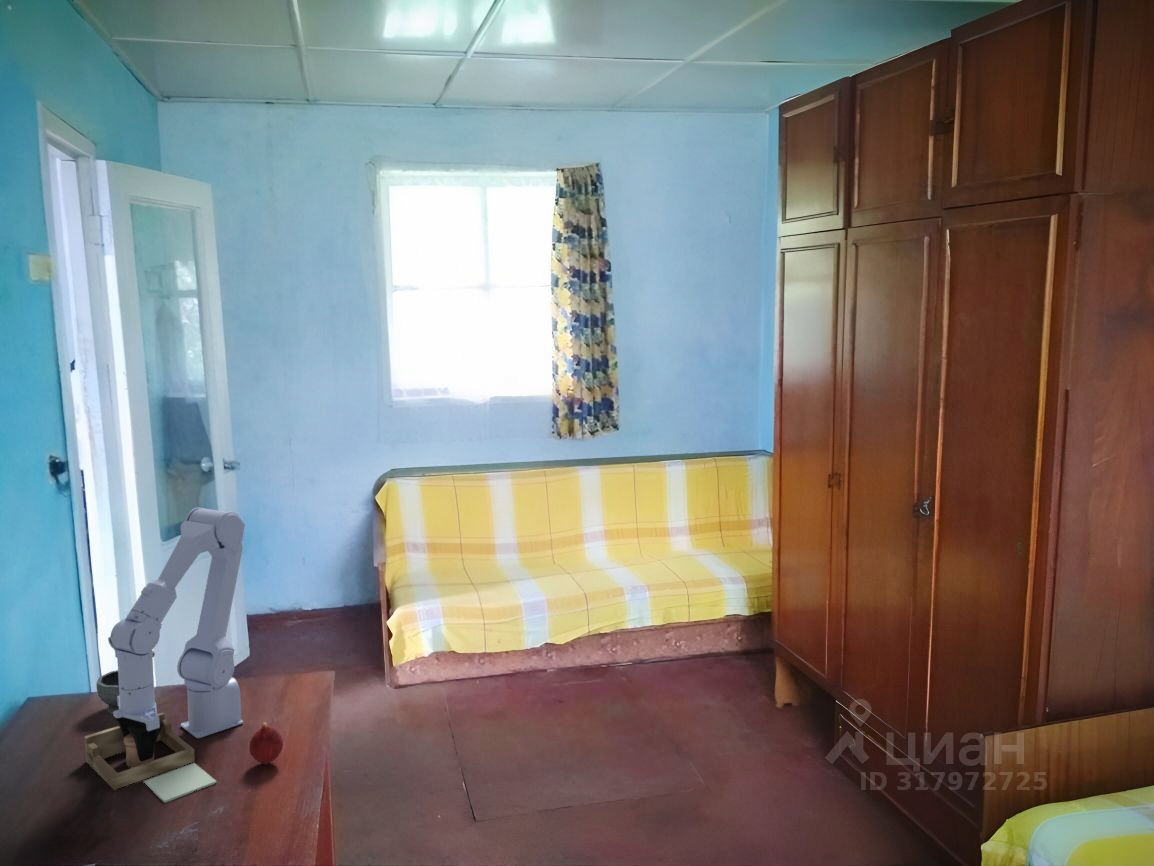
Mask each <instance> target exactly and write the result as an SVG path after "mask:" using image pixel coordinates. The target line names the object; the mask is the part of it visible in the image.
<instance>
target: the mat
mask: <svg viewBox="0 0 1154 866" xmlns="http://www.w3.org/2000/svg"><path fill="white" fill-rule="evenodd" d="M144 783H145V784H146V785H147V786H148V787H149V788H150V789H151V790H152V791H153V792H152V793H153V794H155V795H156V796H157V797H158V798H159V800H161V801H162V802H163V803H164V804H167V803H168V802H171V801H174V800H176V799H178V798H181V797H184V796H187V795H189V794H192V793H195V792H197V791H199V790H202V788H203V789H206V788H207V787H210V786H212V785H215V783H216V784H217V780H216V779H214V778H213V777H212V776H211V775H210V774H209V773H207V772H206V771H205V770H204V769H202V767H201V766H199V765H198V764H197V763H195V762H193V763H191V764H188V765H185V766H182V767H179V768H177V769H174V770H171V771H168V772H165V773H163V774H160V775H157V776H154V777H151V778H149V779H146V780H143V784H144ZM145 784H144V785H145ZM146 785H145V786H146ZM147 786H146V787H147ZM148 787H147V788H148ZM149 788H148V789H149ZM150 789H149V790H150ZM151 790H150V791H151ZM196 790H197V791H196ZM194 791H195V792H194Z"/></svg>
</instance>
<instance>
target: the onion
mask: <svg viewBox="0 0 1154 866" xmlns="http://www.w3.org/2000/svg"><path fill="white" fill-rule="evenodd" d="M283 746H284V741H283V738H282V735H281V733H280V732H279V731H278V730H277V729H276V728H274V727H271V726H270V725H269V724H268V723H267V722H266V721H265V722H263V723H262V725H261V728H259V729H258V730H256V732H255V733H254V734H253V735H252V737H251V739H250V741H249V753H250V755H251V756H252V757H253V759H254V760H255V761H256V762H259V763H260V764H263V765H266V764H267V765H269V764H270V763H272V762H274V761H275V760H276V759H277V758H279V755H280V754H281V753H282V750H283Z"/></svg>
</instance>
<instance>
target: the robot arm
mask: <svg viewBox="0 0 1154 866" xmlns="http://www.w3.org/2000/svg"><path fill="white" fill-rule="evenodd" d="M245 527H246V524H245V522H244V521H243V519H242V518H241V517H240V515H239V514H238V513H236V512H235V511H223V510H217V509H211V508H205V507H202V506H201V507H200V506H199V507H194V508H193V509H191V510H190V511H189V512H188V513H187V514H186V517H185V519H184V521H183V522H182V523H181V524H180V537H179V539H178V541H177V543H176V545H175V547H174V549H173V550H172V552H171V555H170V556H169V558H168V560H167V562H166V564H165V566H164V568H163V569H162V571H161V573H160V575H159V577H158V579H156V580H153V581H150V582H148V583H147V584H146V585H145V586H144V587H143V588H142V590H141V591H140V593H141V594H140V595H139V597H138V598H137V600H136V601H135V603H134V604H133V606H132V608H131V609H130V611H129V613H128V614H127V616H126V617H125V618H123V619H121V621H118V622H117V623H116V624H115V625H114V626H113V628H112V629H111V631H110V632H111V633H110V636H109V637H108V638H107V640H108V644H109V646H110V647H111V648H112V649H113V650H114V656H115V658H116V659H117V660H116V661H117V670H118V678H119V696H117V702H118V706H119V710H117V711H114V712H113V715H112V717H113V719H114V720H115V722H116V723H117V724H118V725H117V726H119V727H120V729H121V731H122V734H123V737H125V736H127V735H128V734H130V733H131V734H132V736H133V738H134V741H135V744H136V749H137V754H138V758H139V760H140V761H141V762H142V761H145V760H148V759H151V758H152V757H153V754H154V755H155V750H156V748H155V747H156V744H157V742H158V741H157V737H158V735H159V733H160V731H161V729H162V727H163V725H164V722H163V721H162V720H161V719H159V717H158V716H157V714H158V713H157V712H158V710H157V703H156V701H155V699H156V698H155V684H154V683H155V681H154V679H155V678H154V662H153V661H154V659H153V658H154V657H153V656H152V651H153V649H154V648H155V647H156V646H157V645H158V643H159V641H160V634H161V629H162V625H163V624H162V622H163V621H164V619H165V617H166V616H167V614H168V612H169V611H170V609H171V608H172V606H173V604H174V603H175V601H176V600H177V597H178V596H177V592H176V591H177V590H176V588H177V586H178V585H179V583H180V582H181V580H182V579H183V577H184V576H185V574H187V572H188V570H189V569H190V568H191V566H192V565H193V564H194V562H196V561H195V560H197V558H198V557H199V555H200V554H202V553H207V552H208V553H209V555H210V556H211V559H210V566H209V570H208V575H207V579H206V586H205V589H204V594H203V601H202V605H201V611H200V616H199V620H198V626H197V629H196V634H195V635H194V636H193V637H191V638H190V639H189V640H188V641H186V642H185V645H184V649H183V652H182V654H181V655H180V657H179V659H178V661H177V667H176V668H177V669H176V670H177V674H178V675H179V677H181V679H183V680H184V685H185V686H186V691H187V692H186V694H187V715H188V716H187V717H188V720H187V721H184V722H181V724H180V727H182V728H183V729H184V730H185V731H187V732H188V733H189V734H191V736H193V737H195V738H196V739H201V738H204V737H206V736H210V735H213V734H216V733H218V732H219V733H220V732H222V731H225V730H228V729H230V728H233V727H236V726H240V725H242V724H243V723H244V720H243V719H242V704H241V703H242V701H241V700H242V699H241V690H240V685H239V683H238V680H237V679H236V678H235V677H233V675H234V672H235V661H234V654H235V648H234V646H233V645H232V643H230V641H229V640H228V639H227V633H228V632H227V631H228V628H229V627H228V626H229V621H230V616H231V611H232V607H233V601H234V595H235V591H236V585H237V579H238V575H239V569H240V565H241V564H240V563H241V559H242V554H243V542H242V541H243V537H244V533H245V532H244V531H245Z"/></svg>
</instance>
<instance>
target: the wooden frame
mask: <svg viewBox="0 0 1154 866" xmlns="http://www.w3.org/2000/svg"><path fill="white" fill-rule="evenodd" d="M157 716H158V717H159V719H161V720H162V721H163V722H164V725H163V727H162V729H161V731H160V733H159V735H158V737H157V741H156V742H159V741H161V742H162V743H164V745H166V746H167V747H168V748H170V750H172V751H173V752H174V751H175V752H174V753H171V754H169V755H166V756H163V757H160V758H157V759H154V761H151V762H148V763H145V764H142V765H140V766H137V767H134V768H128V769H125V770H122V771H120V772H118V771H116V769H114V768H113V767H112V766H111V764H109V763H108V762H107V761H106V760H105V759H107V758H110V756H111V757H113V755H114V756H116V755H115V754H117V755H119V754H118V753H120V752H123V753H125V752H124V751H126V746H125V745H124V737H123V734H122V731H121V729H120V727H119V725H117V726H114V727H111V728H106V729H104V730H101V731H98V732H95V733H91V734H88V735H84V749H85V750H84V751H85V763H88V764H89V765H88V766H89V767H90V768H91V769H92V770H93V769H94V770H95V771H96V772H97V773H98V774H97V773H96V772H95V771H94V770H93V771H94V772H95V773H96V774H97V775H98V776H99V775H100V776H101V777H102V778H103V779H104V780H105V781H106V782H107V783H108V784H109V785H110V786H111V787H112V788H113V789H114V790H115V791H117V790H116V789H118V788H121V787H123V786H126V785H128V784H132V783H134V782H137V781H140V780H143V779H146V780H148V779H147V778H149V779H151V778H153V777H152V776H154V777H156V776H159V774H160V775H162V774H165V773H167V772H170V771H173V770H176V768H177V769H179V768H181V767H184V765H185V766H187V764H188V765H190V764H189V763H191V764H193V763H195V762H196V761H195V759H196V757H195V748H193V747H192V746H191V745H189V744H188V743H187V742H186V741H185V740H183V739H182V738H181V737H179V736H178V735H177V734H176V733H175V732H173V731H172V730H173V729H172V723H171V722H170V721H168V720H167V719H166V717H165V716H166V715H165V713H164V712H160V713H157ZM120 754H121V753H120ZM192 762H193V763H192ZM100 776H99V777H100ZM101 777H100V778H101ZM150 777H151V778H150ZM102 778H101V779H102ZM103 779H102V780H103ZM104 780H103V781H104ZM105 781H104V782H105ZM143 781H144V780H143ZM106 782H105V783H106ZM140 782H141V781H140ZM107 783H106V784H107ZM137 783H138V782H137ZM108 784H107V785H108ZM109 785H108V786H109ZM132 785H133V784H132ZM110 786H109V787H110ZM111 787H110V788H111ZM126 787H127V786H126ZM112 788H111V789H112ZM113 789H112V790H113ZM121 789H122V788H121ZM114 790H113V791H114ZM118 790H119V789H118Z"/></svg>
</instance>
